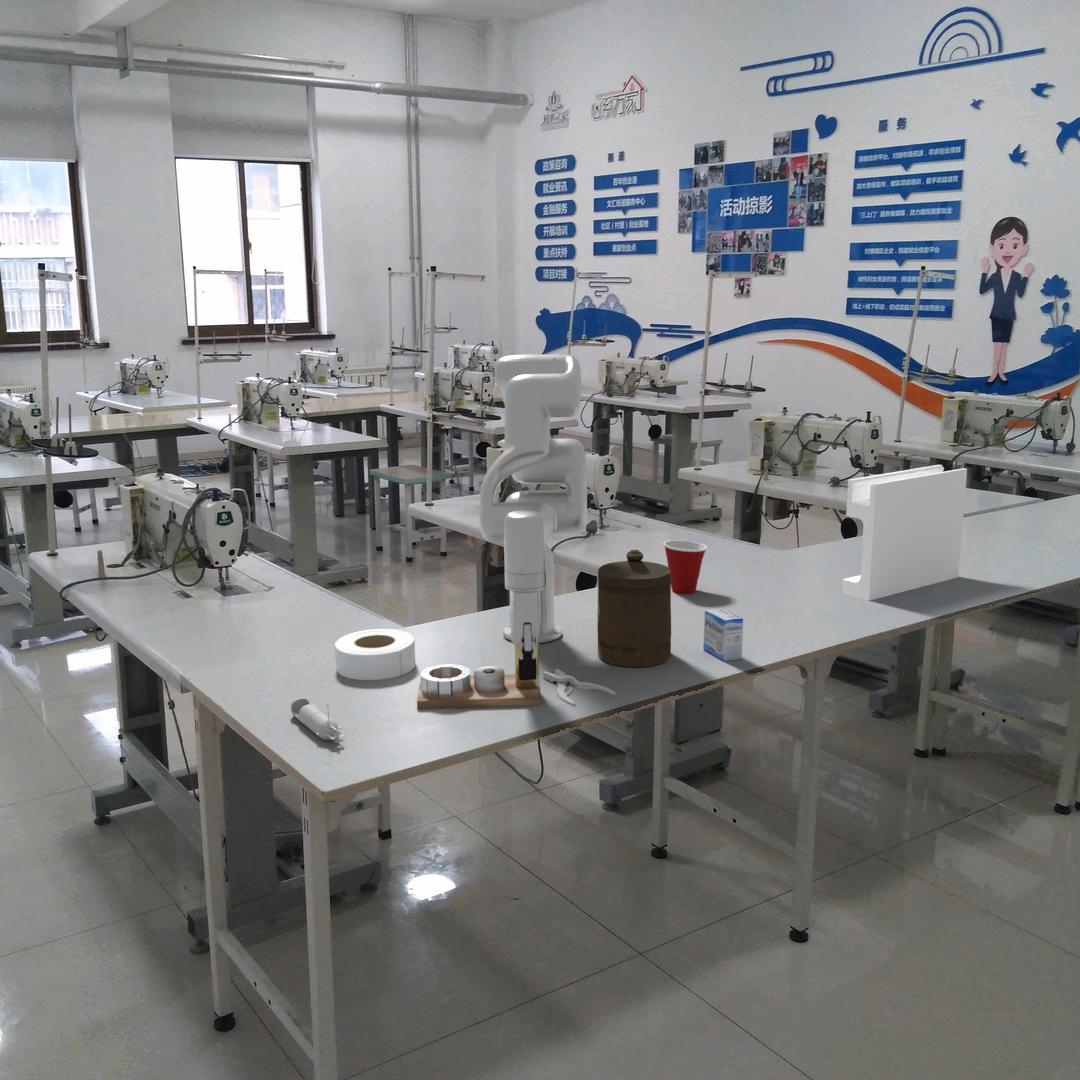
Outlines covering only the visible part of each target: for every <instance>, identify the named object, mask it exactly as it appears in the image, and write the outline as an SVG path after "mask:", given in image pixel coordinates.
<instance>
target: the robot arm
mask: <svg viewBox="0 0 1080 1080" xmlns="http://www.w3.org/2000/svg"><path fill="white" fill-rule="evenodd" d="M493 372H494V380H495V383H496V386H497V390H498V393H499V395H500V398H501V400H502V402H503V404H504V449H503V452H502V453H501V454H500V455H499V457H497V458H496V459H495V460H494V462H493V463H492V464H491V465H490V467H489V468H488V470H487V471H486V473H485V474H484V477H483V480H482V483H481V487H480V488H481V489H480V494H479V495H480V496H479V497H480V498H479V500H480V501H479V528H480V532H481V536H482V537H483V539H484V540H486V541H488V542H489V543H494V544H495V543H497V544H498V543H501V544H503V553H504V554H503V555H504V588H505V590H507V591H509V618H510V619H509V624H508V625H507V626H505V627H504V628H503V632H502V633H503V637H504V638H506V639H507V640H509V641H511V644H513V645H514V646H515V645H516V643H519V642H520V643H519V645H520V659H519V680H535V679H536V678H537V674H536V658H535V644H537V643H538V644H542V643H548V642H552V641H554V640H557V639H559V638H560V637H561V636H562V627H561V626H559V625H558V624H555V579H554V578H555V577H554V576H555V573H554V572H555V570H554V569H555V567H554V566H555V565H554V563H555V562H554V553H553V551H552V550H551V547H550V546H549V545H548V544H547V542H549V541H550V540H552V538H553V537H554V536H558V537H559V536H566V537H567V536H578V535H581V534H582V533H583V532H584V531H585V529H586V526H587V522H588V485H587V483H588V480H587V479H588V478H587V457H586V450H585V448H584V445H583V444H582V443H581V442H580V441H579V439H576V438H575V439H574V438H566V437H565V438H563V437H562V438H552V437H551V418H572V417H575V416H576V415H577V414H578V412H579V411H580V406H581V401H582V371H581V365H580V362H579V360H578V358H577V357H576V356H574V355H572V354H567V353H566V354H563V353H562V354H561V353H556V354H555V353H553V354H551V353H549V354H535V353H533V354H530V353H529V354H528V353H527V354H526V353H525V354H512V355H506V356H503V357H500V358H499V359H497V361H496V362H495V364H494V371H493ZM509 476H512V479H513V480H514V481H515V482H517V483H520V484H525V485H526V484H527V485H562V486H564V488H565V490H522V491H516V492H513V493H510V495H508V496H507V498H506V499H505V501H503V502H502V501H500V502H499V501H498V502H497V501H496V492H497V490H498V488H499V486H500V485H501V483H502V482H504V480H505V479H507V478H508V477H509ZM522 641H524V642H522ZM531 641H533V642H531ZM523 646H524V648H523ZM531 646H532V648H531Z"/></svg>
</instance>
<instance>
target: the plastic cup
mask: <svg viewBox="0 0 1080 1080" xmlns="http://www.w3.org/2000/svg"><path fill="white" fill-rule="evenodd" d="M663 546H664V549H665V556H666V562H667V567H668V568H669V569H670V571H671V590H672V592H673V593H675V594H679V595H688V594H694V593H695V592H696V590H697V587H698V581H699V580H698V579H699V576H700V572H701V568H702V563H703V558H704V556H705V554H706V551H707V550H708V548H709V546H707V545H706V544H703V543H700V542H697V541H690V540H689V541H688V540H680V539H678V540H676V539H674V540H667V541H666V540H665V541H664V542H663Z"/></svg>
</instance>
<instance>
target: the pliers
mask: <svg viewBox="0 0 1080 1080" xmlns="http://www.w3.org/2000/svg"><path fill="white" fill-rule="evenodd" d="M542 678H543V679H545V681H546V680H547V681H549V682H551V683H555V682H556V686H557V689H556V694H557V696H558V697H559V699H561V700H562V701H563V702H565V703H566V704H569V705H570V706H576V705H577V704H576V702H574V701H573V700H572V699H570V698H569V697H568V696H569V695H571V693H572V692H573V689H572V687H569V690H568V691H567V692H566V690H567V686H566V684H568V683H569V684H570V685H572V686H574V687H575V688H576V689H578V690H599V691H602V692H604V693H608V694H609V695H613V696H615V695H617V693H616V692H615V691H614V690H613V689H610V688H608V687H607V686H604V685H600V684H597V683H593V682H587V681H579V680H578V679H577V678H576V677H575V676H573V675H570V674H569V675H568V674H566V672H564V671H562V670H561V669H559V668H556V669H554V673H552V672H549V671H542Z"/></svg>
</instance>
